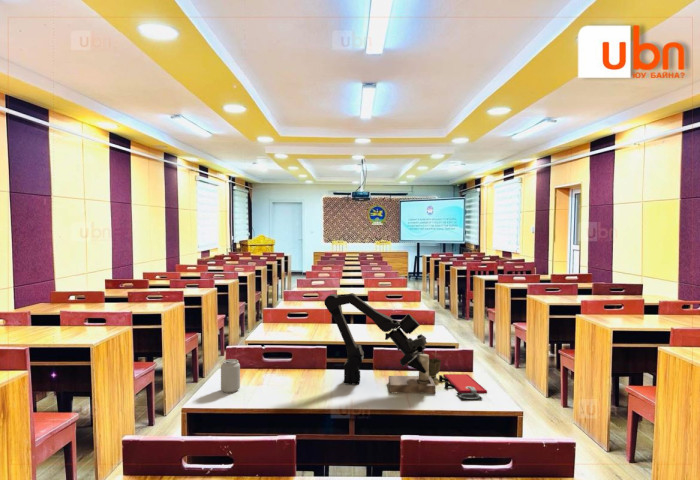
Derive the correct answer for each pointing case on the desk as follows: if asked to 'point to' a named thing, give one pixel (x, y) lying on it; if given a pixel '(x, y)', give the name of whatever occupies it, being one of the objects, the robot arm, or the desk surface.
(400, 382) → the walnut board
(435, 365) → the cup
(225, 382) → the can
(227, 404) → the desk surface
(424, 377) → the birch dowel
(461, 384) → the red board with handle
